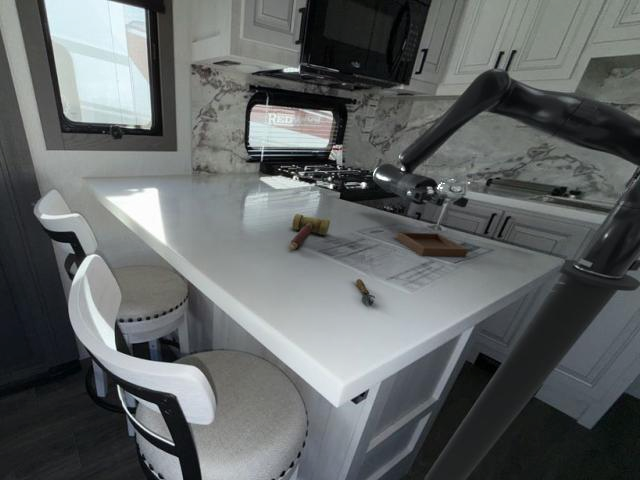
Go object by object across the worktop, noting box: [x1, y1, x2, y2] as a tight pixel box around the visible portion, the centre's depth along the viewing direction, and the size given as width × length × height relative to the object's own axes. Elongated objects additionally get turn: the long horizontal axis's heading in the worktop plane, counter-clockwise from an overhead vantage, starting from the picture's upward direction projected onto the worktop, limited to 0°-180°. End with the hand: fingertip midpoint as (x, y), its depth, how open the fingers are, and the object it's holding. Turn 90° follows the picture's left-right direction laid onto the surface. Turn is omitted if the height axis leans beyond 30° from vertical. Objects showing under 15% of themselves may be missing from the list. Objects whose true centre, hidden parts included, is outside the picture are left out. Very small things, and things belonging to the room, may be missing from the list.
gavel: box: [290, 213, 331, 250], centre depth 84 cm, size 21×5×10 cm
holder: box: [396, 231, 469, 258], centre depth 86 cm, size 13×13×2 cm
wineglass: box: [425, 177, 472, 231], centre depth 80 cm, size 7×7×12 cm
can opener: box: [356, 278, 376, 306], centre depth 59 cm, size 9×2×1 cm, turn 171°
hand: (453, 202), depth 77 cm, fingers closed on wineglass, 6 cm apart
